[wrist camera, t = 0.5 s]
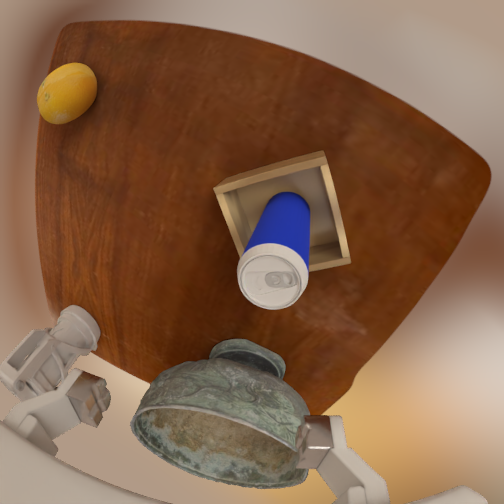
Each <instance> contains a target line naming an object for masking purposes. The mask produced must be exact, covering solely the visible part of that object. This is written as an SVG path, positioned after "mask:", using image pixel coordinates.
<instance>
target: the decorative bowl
mask: <svg viewBox="0 0 504 504" xmlns="http://www.w3.org/2000/svg"><path fill="white" fill-rule="evenodd" d="M285 367H286V366H285V363H284V361H283V359H282V358H281V357H280V356H279V355H278V354H276V353H274V352H272V351H270V350H268V349H266V348H264V347H262V346H259V345H257V344H255V343H253V342H251V341H249V340H246V339H230V340H225V341H222V342H220V343H218V344H216V345H215V346H214V347H213V349H212V351H211V353H210V356H209V359H208V360H199V361H197V362H194V361H187V362H184V363H182V364H179V365H177V366H174V367H172V368H169V369H167V370H165V371H163V372H161V373H160V374H159V376H158V377H157V378H156V379H155V380H153V382H152V383H151V384H150V388H149V389H148V390H147V392H146V393H145V395H144V396H143V398H142V400H141V403H140V405H139V407H138V409H137V411H136V413H135V415H134V416H133V419H132V421H131V423H130V426H131V429H132V432H133V434H134V435H135V436H136V437H137V439H138V440H139V441H140V442H141V443H142V444H143V445H144V446H145V447H146V448H147V449H148V450H150V451H151V452H153V453H154V454H156V455H157V456H158V457H160V458H161V459H163V460H165V461H166V462H168V463H170V464H172V465H174V466H176V467H178V468H180V469H182V470H184V471H186V472H188V473H191V474H193V475H196V476H198V477H202V478H206V479H208V480H213V481H216V482H223V483H226V484H229V485H231V484H232V485H238V486H242V487H249V488H252V487H255V488H258V489H271V488H285V487H291V486H295V485H298V484H301V483H302V482H304V481H305V479H306V478H307V475H308V470H309V469H299V468H296V456H295V455H296V453H297V451H298V449H297V448H296V447H295V437H296V432H297V428H298V426H300V425H301V419H302V416H303V415H310V413H309V410H308V408H307V405H306V403H305V402H304V400H303V399H302V397H301V396H300V395H299V394H298V393H297V392H296V391H295V390H294V389H293V388H292V387H290V386H289V385H288V384H287V383H286V382H284V381H283V380H282V379H283V377H284V373H285Z"/></svg>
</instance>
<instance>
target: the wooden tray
mask: <svg viewBox="0 0 504 504" xmlns="http://www.w3.org/2000/svg"><path fill="white" fill-rule="evenodd" d="M213 189H214V192H215V194H216V197H217V199H218V202H219V205H220V207H221V210H222V212H223V215H224V217H225V220H226V223H227V225H228V228H229V230H230V233H231V235H232V238H233V241H234V243H235V246H236V248H237V251H238V253H239V256H240V258H241V256H242V254H243V252H244V250H245V248H246V246H247V244H248V242H249V240H250V238H251V236H252V234H253V232H254V230H255V228H256V225H257V223H258V221H259V219H260V217H261V215H262V213H263V211H264V209H265V207H266V205H267V203H268V201H269V200H270V199H271V198H272V197H273V196H274V195H276V194H278V193H281V192H294V193H297V194H298V195H300V196H302V197H303V198H304V199H305V200H306V202H307V203H308V205H309V208H310V247H309V272H311V271H316V270H321V269H326V268H330V267H335V266H340V265H345V264H349V263H351V260H350V255H349V250H348V245H347V240H346V235H345V231H344V226H343V222H342V217H341V213H340V209H339V205H338V201H337V196H336V193H335V189H334V185H333V181H332V177H331V174H330V170H329V166H328V163H327V159H326V156H325V153H324V151H323V150H322V151H318V152H314V153H311V154H307V155H303V156H299V157H295V158H292V159H288V160H284V161H281V162H277V163H274V164H270V165H267V166H263V167H260V168H257V169H253V170H250V171H247V172H244V173H241V174H237V175H234V176H231V177H228V178H226V179H225V180H223V181H222V182H221V183H219V184H218V185H217V186H216V187H214V188H213Z"/></svg>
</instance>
